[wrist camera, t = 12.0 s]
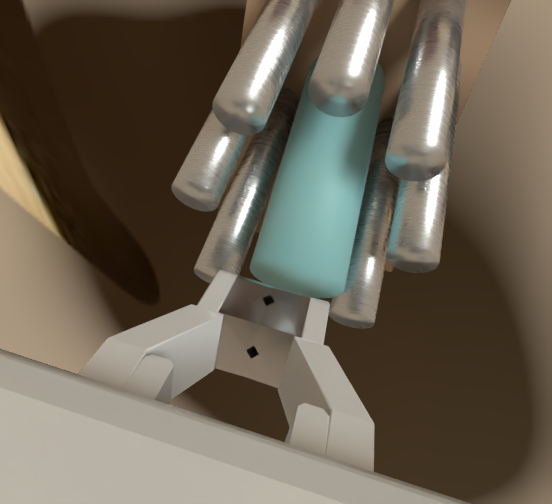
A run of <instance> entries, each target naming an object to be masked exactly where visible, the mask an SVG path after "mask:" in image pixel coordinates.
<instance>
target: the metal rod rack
mask: <svg viewBox="0 0 552 504" xmlns="http://www.w3.org/2000/svg"><path fill="white" fill-rule="evenodd" d="M318 1H319V0H267V1H266V3H265V5H264V7H263V8H262V10H261V12H260V14H259V16H258V18H257V20H256V21H255V23H254V25H253V27H252V29H251V31H250V33H249V34H248V36H247V38H246V40H245V42H244V44H243V46H242V48H241V49H240V51H239V53H238V55H237V57H236V59H235V61H234V62H233V64H232V66H231V68H230V70H229V72H228V74H227V76H226V77H225V79H224V81H223V83H222V85H221V87H220V89H219V90H218V92H217V94H216V96H215V98H214V100H213V108H212V110H211V112H210V114H209V116H208V118H207V120H206V121H205V123H204V125H203V127H202V129H201V131H200V133H199V135H198V137H197V138H196V140H195V142H194V144H193V146H192V148H191V150H190V152H189V154H188V155H187V157H186V159H185V161H184V163H183V165H182V167H181V169H180V170H179V172H178V174H177V176H176V178H175V180H174V182H173V184H172V191H173V194H174V195H175V196H176V197H177V199H179V200H180V201H181V202H182V203H184V204H185V205H187V206H189V207H191V208H193V209H196V210H199V211H207V212H209V211H213V210H215V209H216V208H217V207H218V205H219V202H220V200H221V198H222V196H223V193H224V191H225V189H226V187H227V184H228V182H229V180H230V178H231V176H232V173H233V171H234V169H235V167H236V164H237V162H238V160H239V158H240V155H241V153H242V151H243V149H244V147H245V144H246V142H247V140H248V138H249V136H250V135H253V136H252V138H251V140H250V143H249V145H248V147H247V149H246V152H245V154H244V156H243V158H242V161H241V163H240V165H239V167H238V170H237V172H236V174H235V176H234V179H233V181H232V183H231V185H230V188H229V190H228V192H227V195H226V197H225V199H224V201H223V204H222V206H221V208H220V210H219V213H218V215H217V217H216V219H215V222H214V224H213V226H212V228H211V231H210V233H209V235H208V237H207V240H206V242H205V244H204V247H203V249H202V251H201V253H200V255H199V258H198V260H197V263H196V264H195V267H194V272H195V274H196V275H197V276H198V277H200V278H201V279H202V280H204V281H206V282H208V283H211V282H212V280H213V278H214V277H215V275H216V274H217V272H218V271H220V270H223V271H226V272H229V273H233V274H236V275H238V276H239V273H240V271H241V268H242V266H243V263H244V260H245V258H246V255H247V252H248V250H249V247H250V244H251V242H252V239H253V237H254V234H255V231H256V229H257V226H258V223H259V221H260V218H261V216H262V213H263V210H264V208H265V205H266V202H267V200H268V197H269V194H270V192H271V189H272V187H273V184H274V181H275V179H276V176H277V173H278V171H279V167H280V164H281V161H282V158H283V154H284V151H285V148H286V144H287V141H288V138H289V134H290V131H291V128H292V124H293V121H294V118H295V114H296V111H297V108H298V104H299V101H300V99H299V97H298V95H297V94H296V93H295V92H294V91H293V90H292V89H289V88H281V87H282V85H283V83H284V80H285V78H286V76H287V73H288V71H289V69H290V66H291V64H292V62H293V59H294V57H295V55H296V52H297V50H298V48H299V45H300V43H301V41H302V38H303V36H304V34H305V32H306V29H307V27H308V25H309V22H310V20H311V18H312V15H313V13H314V11H315V8H316V6H317V4H318ZM394 1H395V0H341V1H340V4H339V6H338V9H337V11H336V14H335V17H334V19H333V22H332V24H331V27H330V30H329V32H328V35H327V37H326V40H325V43H324V45H323V48H322V50H321V53H320V56H319V58H318V61H317V63H316V66H315V69H314V71H313V74H312V76H311V79H310V82H309V85H308V93H309V97H310V99H311V101H312V103H313V104H314V105H315V106H316V107H317V108H318V109H319V110H320V111H322V112H323V113H325V114H327V115H330V116H334V117H348V116H352V115H354V114H356V113H358V112H359V111H360V110H362V108H363V107H364V106H365V104H366V102H367V99H368V95H369V92H370V88H371V84H372V81H373V77H374V74H375V70H376V66H377V63H378V59H379V55H380V52H381V48H382V44H383V41H384V37H385V34H386V30H387V26H388V23H389V19H390V15H391V12H392V8H393V4H394ZM466 2H467V0H420V4H419V9H418V13H417V18H416V22H415V27H414V31H413V36H412V40H411V45H410V49H409V54H408V58H407V63H406V67H405V72H404V76H403V81H402V85H401V90H400V94H399V99H398V103H397V108H396V112H395V117H389V118H386V119H384V120H383V121H382V122H381V123H379V125H378V126H377V128H376V133H375V138H374V143H373V148H372V153H371V158H370V163H369V168H368V173H367V178H366V183H365V188H364V193H363V199H362V204H361V209H360V214H359V219H358V224H357V229H356V234H355V239H354V244H353V249H352V254H351V259H350V264H349V269H348V274H347V279H346V284H345V289H344V292H343V293H342V294H341V295H339V296H336V297H333V298H332V302H331V306H330V310H329V316H330V317H331V318H332V319H333V320H335V321H336V322H338V323H341V324H343V325H346V326H350V327H354V328H369V327H372V326H373V325H374V322H375V316H376V311H377V306H378V301H379V295H380V290H381V285H382V280H383V274H384V269H385V264H386V259H387V261H388V262H389V263H390V264H391V265H392V266H394V267H396V268H398V269H401V270H404V271H408V272H427V271H431V270H433V269H435V268H436V267H437V266H438V265H439V262H440V253H441V245H442V236H443V227H444V220H445V211H446V203H447V195H448V186H449V178H450V169H451V160H452V152H453V144H454V136H455V128H456V119H457V111H458V102H459V94H460V86H461V77H462V62H461V59H460V50H461V42H462V34H463V26H464V18H465V10H466Z"/></svg>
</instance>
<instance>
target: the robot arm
mask: <svg viewBox="0 0 552 504" xmlns="http://www.w3.org/2000/svg"><path fill="white" fill-rule="evenodd" d="M329 306H330V304H329V302H327V301H323V300H319V299H316V298H312V297H311V298H310V297H306V296H303V295H299V294H296V293H293V292H289V291H286V290H282V289H279V288H276V287H273V286H270V285H267V284H264V283H261V282H258V281H255V280H252V279H249V278H246V277H242V276H238V275H236V274H233V273H229V272H226V271H223V270H220V271H218V272H217V274H216V275H215V277H214V278H213V280H212V282H211V283H210V285H209V286H208V288H207V290H206V291H205V293H204V295H203V296H202V298H201V299H200V301H199V303H198V304H197V306H195V305H192V304H191V305H188V306H186V307H183V308H181V309H178V310H176V311H173V312H171V313H168V314H166V315H163V316H161V317H158V318H156V319H154V320H151V321H149V322H146V323H144V324H141V325H139V326H136V327H134V328H131V329H129V330H126V331H124V332H121V333H119V334H116V335H114V336H111V337H109V338H107V340H106V341H105V342H104V343H103V344H102V345H101V347H100V348H99V349H98V350H97V351H96V353H95V354H94V355H93V356H92V357H91V359H90V360H89V361H88V362H87V363H86V365H85V366H84V367H83V368H82V369H81V371H80V372H79V373H78V374H75V373H72V372H69V371H66V370H63V369H59V368H56V367H53V366H50V365H48V364H44V363H42V362H38V361H35V360H32V359H29V358H26V357H23V356H20V355H17V354H14V353H11V352H8V351H5V350H2V349H0V504H470V503H467V502H464V501H460V500H458V499H455V498H451V497H449V496H445V495H442V494H439V493H436V492H433V491H430V490H427V489H424V488H421V487H418V486H415V485H412V484H409V483H406V482H403V481H400V480H397V479H394V478H390V477H388V476H384V475H381V474H378V473H375V472H374V423H373V421H372V419H371V418H370V416H369V414H368V413H367V411H366V409H365V408H364V406H363V404H362V402H361V401H360V399H359V397H358V396H357V394H356V392H355V391H354V389H353V387H352V385H351V384H350V382H349V380H348V379H347V377H346V375H345V374H344V372H343V370H342V368H341V367H340V365H339V363H338V362H337V360H336V358H335V357H334V355H333V353H332V351H331V350H330V348H329V347H328V346H325V345H323V343H324V337H325V330H326V325H327V319H328V313H329ZM214 368H216V369H220V370H223V371H227V372H230V373H234V374H237V375H241V376H244V377H247V378H250V379H253V380H256V381H259V382H262V383H264V384H267V385H270V386H273V387H276V388H278V392H279V395H280V398H281V401H282V404H283V408H284V411H285V413H286V417H287V420H288V423H289V426H290V429H289V432H288V434H287V437H286V440H285V442H281V441H279V440H275V439H272V438H269V437H266V436H263V435H260V434H257V433H254V432H251V431H248V430H245V429H242V428H239V427H236V426H233V425H230V424H227V423H224V422H221V421H218V420H215V419H212V418H209V417H206V416H202V415H199V414H196V413H193V412H190V411H187V410H184V409H181V408H178V407H175V406H172V405H170V400H171V399H173V398H174V397H175V396H177V395H178V394H180V393H181V392H183V391H184V390H185V389H187V388H188V387H190V386H191V385H193V384H194V383H196V382H197V381H198V380H200V379H201V378H203V377H204V376H206V375H207V374H209V373H210V372H211V371H213V370H214Z"/></svg>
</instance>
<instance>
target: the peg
mask: <svg viewBox="0 0 552 504" xmlns="http://www.w3.org/2000/svg"><path fill="white" fill-rule="evenodd" d="M319 56H320V55H319ZM319 56H318V57H316V58H315V60H314V61H313V62H312V64H311V66H310V68H309V71H308V75H307V78H306V81H305V84H304V88H303V91H302V94H301V98H300V101H299V104H298V108H297V111H296V114H295V118H294V121H293V124H292V128H291V131H290V134H289V138H288V141H287V144H286V148H285V151H284V154H283V158H282V161H281V164H280V167H279V171H278V174H277V177H276V181H275V184H274V187H273V191H272V194H271V197H270V201H269V204H268V207H267V211H266V214H265V217H264V221H263V224H262V227H261V231H260V234H259V237H258V240H257V244H256V247H255V251H254V254H253V257H252V261H251V264H250V271H251V273H252V274H253V275H254V276H255V277H256V278H257V279H259V280H260V281H262V282H263V283H265V284H267V285H270V286H273V287H276V288H279V289H282V290H286V291H289V292H293V293H296V294H299V295H303V296H306V297H313V298H330V297H336V296H339V295H341V294H342V293H343V292H344V289H345V284H346V279H347V274H348V269H349V264H350V259H351V254H352V249H353V244H354V239H355V234H356V229H357V224H358V219H359V214H360V209H361V204H362V199H363V193H364V188H365V183H366V178H367V173H368V168H369V163H370V158H371V153H372V148H373V143H374V138H375V133H376V128H377V123H378V118H379V113H380V108H381V103H382V98H383V93H384V87H385V74H384V71H383V69H382V67H381V65H380V64H379V63H377V66H376V70H375V74H374V77H373V81H372V84H371V88H370V92H369V95H368V99H367V102H366V104H365V106H364V107H363V108H362V110H360V111H359V112H358V113H356V114H354V115H352V116H348V117H334V116H330V115H327V114H325V113H323V112H322V111H320V110H319V109H318V108H317V107H316V106H315V105H314V104H313V103H312V101H311V99H310V97H309V93H308V85H309V82H310V79H311V76H312V74H313V71H314V69H315V66H316V63H317V61H318V58H319Z"/></svg>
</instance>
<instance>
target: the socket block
mask: <svg viewBox="0 0 552 504" xmlns="http://www.w3.org/2000/svg"><path fill="white" fill-rule="evenodd" d="M266 1H267V0H247V4H246V11H245V18H244V26H243V32H242V40H241V47H240V49H241V48H242V46H243V44H244V42H245V40H246V38H247V36H248V34H249V33H250V31H251V29H252V27H253V25H254V23H255V21H256V20H257V18H258V16H259V14H260V12H261V10H262V8H263V7H264V5H265V3H266ZM340 1H341V0H319V1H318V4H317V6H316V8H315V11H314V13H313V15H312V18H311V20H310V22H309V25H308V27H307V29H306V32H305V34H304V36H303V38H302V41H301V43H300V45H299V48H298V50H297V52H296V55H295V57H294V59H293V62H292V64H291V66H290V69H289V71H288V73H287V76H286V78H285V80H284V83H283V85H282V87H281V88H289V89H292V90H293V91H294V92H295V93H296V94H297V95H298V97H299V99H300V98H301V94H302V91H303V88H304V84H305V81H306V78H307V75H308V71H309V68H310V66H311V64H312V62H313V61H314V60H315V58H316V57H318V56H319V55H320V53H321V50H322V48H323V45H324V43H325V40H326V37H327V35H328V32H329V30H330V27H331V24H332V22H333V19H334V17H335V14H336V11H337V9H338V6H339V4H340ZM510 2H511V0H467V2H466V10H465V18H464V26H463V34H462V42H461V50H460V59H461V62H462V77H461V86H460V94H459V102H458V111H457V119H456V124H457V122H458V120H459V117H460V115H461V113H462V110H463V108H464V106H465V104H466V101H467V99H468V97H469V95H470V92H471V90H472V88H473V85H474V83H475V81H476V79H477V76H478V74H479V72H480V70H481V67H482V65H483V63H484V61H485V58H486V56H487V54H488V51H489V49H490V47H491V45H492V42H493V40H494V38H495V36H496V33H497V31H498V29H499V27H500V24H501V22H502V19H503V17H504V15H505V13H506V11H507V8H508V6H509V4H510ZM419 4H420V0H395V1H394V4H393V8H392V12H391V15H390V19H389V23H388V26H387V30H386V34H385V37H384V41H383V44H382V48H381V52H380V55H379V59H378V63H379V64H380V65H381V67H382V69H383V71H384V74H385V87H384V93H383V98H382V103H381V108H380V113H379V118H378V123H377V126H378V125H379V123H381V122H382V121H383V120H384V119H386V118H389V117H395V112H396V108H397V103H398V99H399V94H400V90H401V85H402V81H403V76H404V72H405V67H406V63H407V58H408V54H409V49H410V45H411V40H412V36H413V31H414V27H415V22H416V18H417V13H418V9H419ZM252 136H253V135H250V136H249V138H248V140H247V142H246V144H245V147H244V149H243V151H242V153H241V155H240V158H239V160H238V162H237V164H236V167H235V169H234V171H233V173H232V176H231V178H230V180H229V182H228V184H227V187H226V189H225V191H224V193H223V196H222V198H221V200H220V202H219V205H218V210H217V215H218V213H219V210H220V208H221V206H222V204H223V201H224V199H225V197H226V195H227V192H228V190H229V188H230V185H231V183H232V181H233V179H234V176H235V174H236V172H237V170H238V167H239V165H240V163H241V161H242V158H243V156H244V154H245V152H246V149H247V147H248V145H249V143H250V140H251V138H252ZM277 174H278V173H277ZM276 177H277V176H276ZM275 181H276V179H275ZM275 181H274V184H275ZM274 184H273V187H274ZM273 187H272V189H271V192H270V194H269V197H268V200H267V202H266V205H265V208H264V210H263V213H262V216H261V218H260V221H259V223H258V226H257V229H256V231H255V232H257V233H260V231H261V227H262V224H263V221H264V217H265V214H266V211H267V207H268V204H269V201H270V197H271V194H272V191H273ZM393 267H394V266H392V265H391V264H390V263H389V262H388V261H387V259H386V264H385V269H384V270H386V271H389V272H391V271H392V269H393Z"/></svg>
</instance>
